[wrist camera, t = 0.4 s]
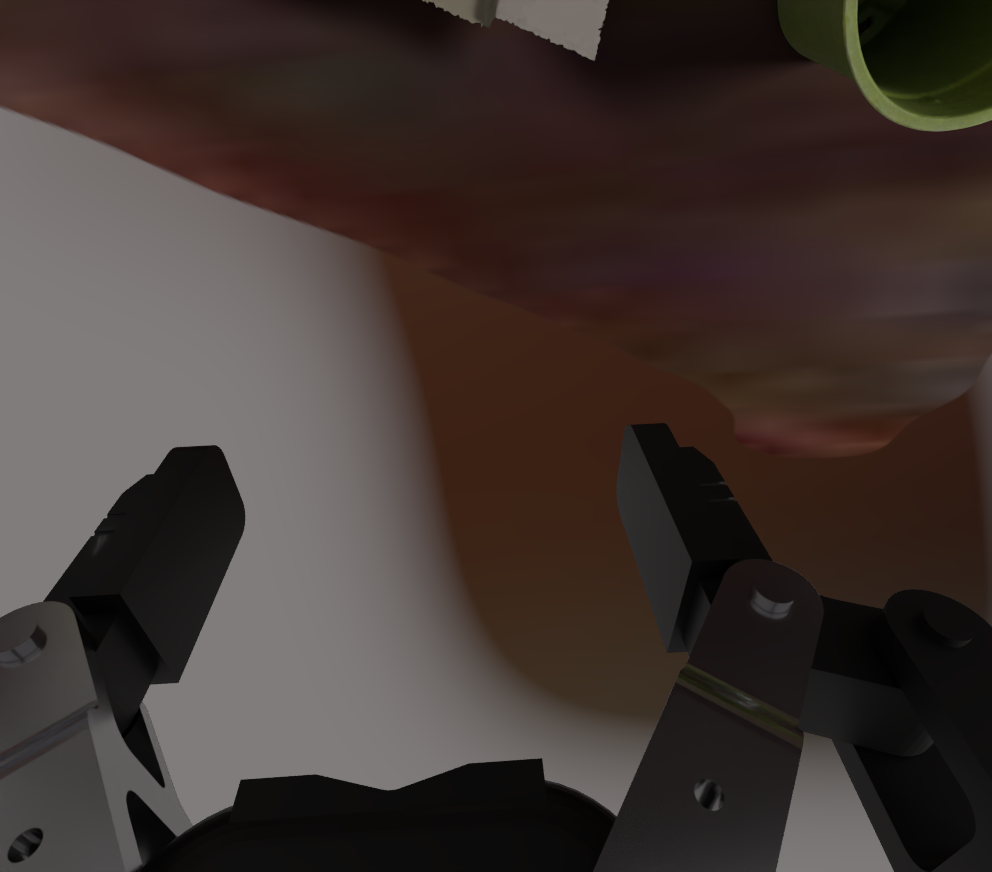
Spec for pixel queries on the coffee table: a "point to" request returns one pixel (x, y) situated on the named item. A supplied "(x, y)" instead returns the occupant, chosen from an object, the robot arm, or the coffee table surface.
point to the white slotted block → (540, 18)
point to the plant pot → (903, 55)
